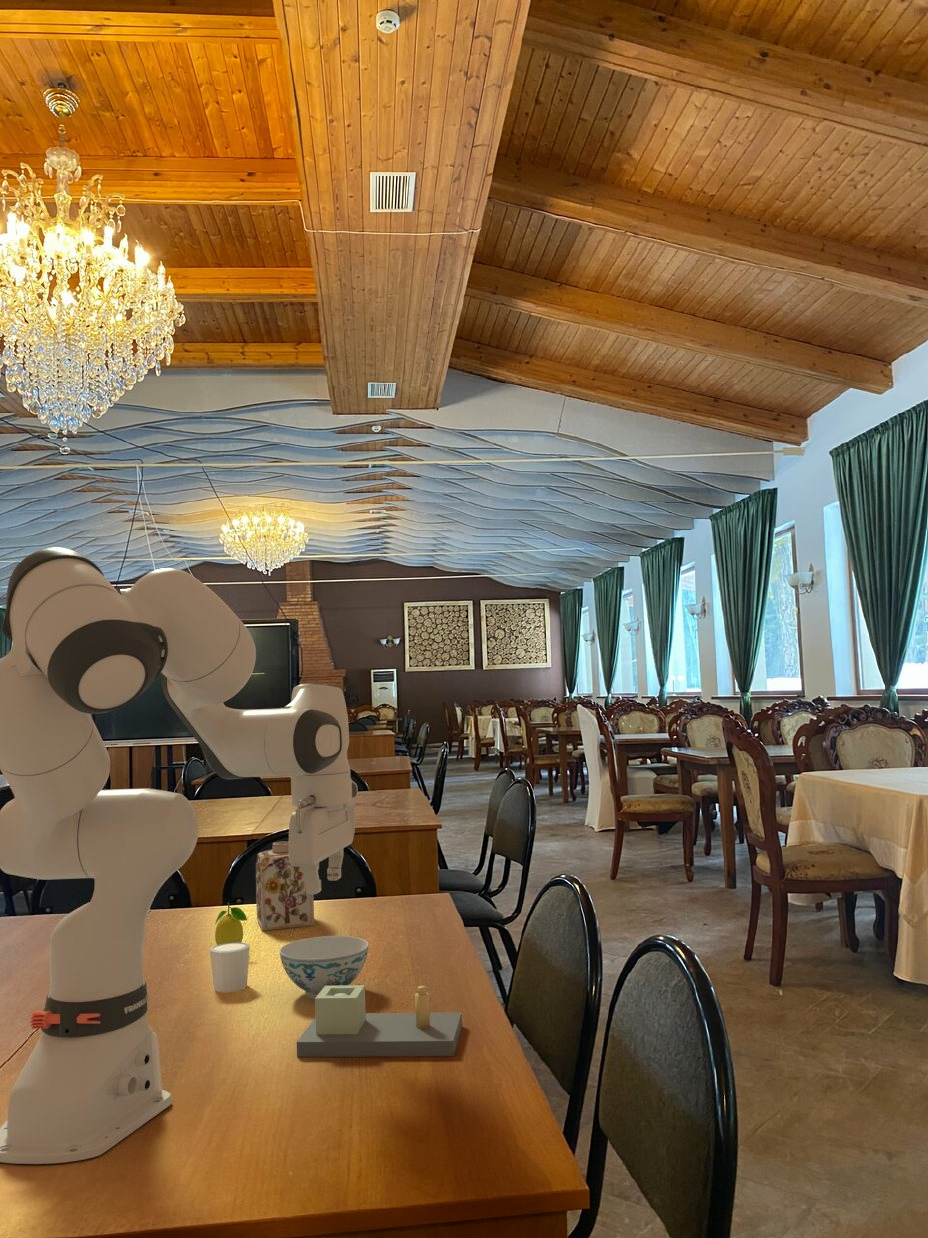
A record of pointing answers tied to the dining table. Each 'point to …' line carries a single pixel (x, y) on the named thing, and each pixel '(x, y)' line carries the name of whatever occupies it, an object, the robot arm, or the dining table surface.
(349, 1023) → the collar block
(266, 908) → the decorative jar
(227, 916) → the lemon
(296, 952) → the chinaware
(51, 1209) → the dining table surface
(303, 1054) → the stand board
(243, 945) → the shot glass
